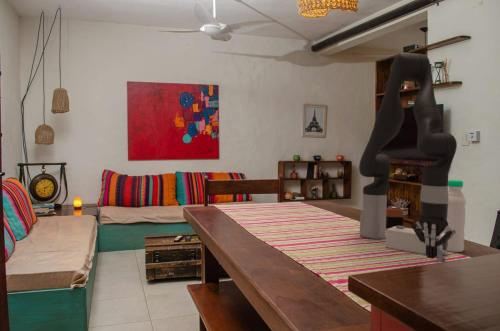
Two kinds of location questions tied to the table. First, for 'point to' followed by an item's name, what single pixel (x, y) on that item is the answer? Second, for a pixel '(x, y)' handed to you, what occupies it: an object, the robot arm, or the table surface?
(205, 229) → the table surface
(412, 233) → the housing
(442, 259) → the side door
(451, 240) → the water bottle
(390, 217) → the battery
